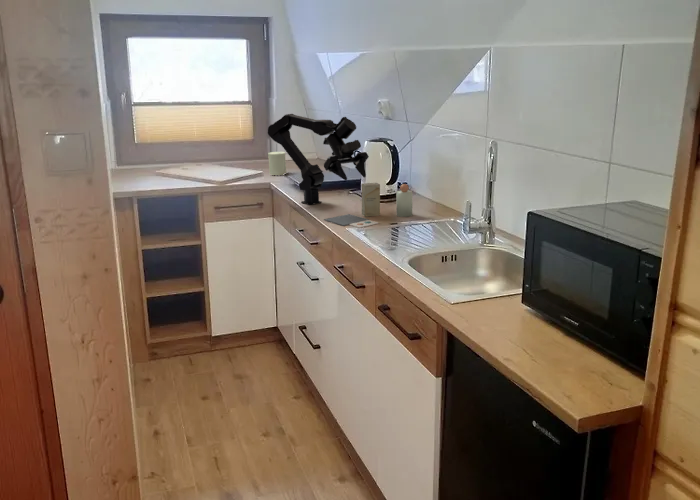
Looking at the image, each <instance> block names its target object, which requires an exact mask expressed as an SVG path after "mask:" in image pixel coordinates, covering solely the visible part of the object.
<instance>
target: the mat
mask: <svg viewBox="0 0 700 500" xmlns="http://www.w3.org/2000/svg"><path fill="white" fill-rule="evenodd" d="M365 220H370V219H369V218H367V217H363V216H358V215H354V214H351V213H346V214H344V215H338V216H331V217H328V218H324V219H323V221H325V222H328V223H332V224H335V225H339V226H342V227H346V226H350V225H349V224H352V223H356V222H361V221H365Z"/></svg>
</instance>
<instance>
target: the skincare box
mask: <svg viewBox="0 0 700 500" xmlns="http://www.w3.org/2000/svg"><path fill="white" fill-rule="evenodd" d="M361 215H362V216H364V218H367V217H378V216H381V184H380V183H378V182H366V183H365V182H364V183H361Z"/></svg>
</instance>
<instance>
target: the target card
mask: <svg viewBox="0 0 700 500" xmlns="http://www.w3.org/2000/svg"><path fill="white" fill-rule="evenodd" d="M379 224H380V223H379V222H377V221H374V220H370V219H369V220H365V221H361V222H356V223H352V224H349V225H348V226H352V227H355V228H358V229H360V228H366V227H369V226H375V225H379Z"/></svg>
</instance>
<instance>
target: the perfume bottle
mask: <svg viewBox="0 0 700 500" xmlns="http://www.w3.org/2000/svg"><path fill="white" fill-rule="evenodd" d="M399 188H400V190H397V191H396V194H395V195H396V200H395V201H396V203H395V204H396V216H397V217H401V218H409V217H412V216H413V191H412V190H410V189H409V185H408V184H406V183H403V184H401V185H400V186H399Z"/></svg>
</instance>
